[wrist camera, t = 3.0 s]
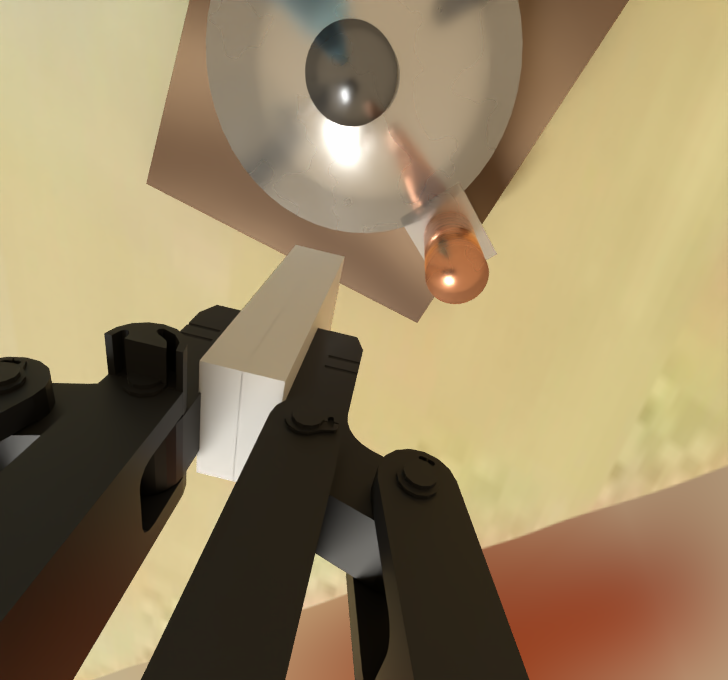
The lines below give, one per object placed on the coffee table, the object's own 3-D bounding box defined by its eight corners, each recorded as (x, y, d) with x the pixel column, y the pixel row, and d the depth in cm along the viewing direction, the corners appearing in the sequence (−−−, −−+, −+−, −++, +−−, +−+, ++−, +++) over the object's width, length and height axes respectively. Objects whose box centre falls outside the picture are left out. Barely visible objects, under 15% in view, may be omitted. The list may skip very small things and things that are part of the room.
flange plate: (165, 30, 15) (51, 2, 11) (418, -220, 12) (418, -428, 7) (361, 312, 20) (343, 382, 15) (586, 189, 16) (656, 229, 12)
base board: (417, 308, 22) (416, 363, 17) (164, 177, 20) (92, 201, 16) (650, -54, 15) (749, -116, 10) (288, -309, 13) (220, -517, 8)
